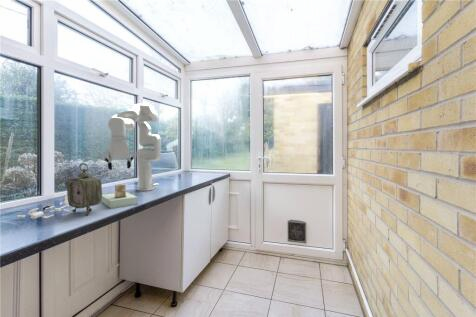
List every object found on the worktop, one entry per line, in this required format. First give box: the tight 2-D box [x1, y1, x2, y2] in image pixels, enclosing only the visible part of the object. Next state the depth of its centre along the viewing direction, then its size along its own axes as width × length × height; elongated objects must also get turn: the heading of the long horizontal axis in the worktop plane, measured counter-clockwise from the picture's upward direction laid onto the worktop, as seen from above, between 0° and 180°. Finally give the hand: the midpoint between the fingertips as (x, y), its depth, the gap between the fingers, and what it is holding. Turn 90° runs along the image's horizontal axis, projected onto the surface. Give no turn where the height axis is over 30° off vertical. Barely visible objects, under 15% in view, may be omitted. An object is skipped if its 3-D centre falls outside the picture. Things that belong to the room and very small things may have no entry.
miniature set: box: [16, 195, 78, 220], centre depth 119 cm, size 6×35×12 cm
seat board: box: [100, 191, 138, 209], centre depth 134 cm, size 14×20×4 cm
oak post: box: [114, 183, 127, 199], centre depth 132 cm, size 4×4×11 cm
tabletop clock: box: [66, 162, 103, 216], centre depth 114 cm, size 14×9×25 cm, turn 64°
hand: (119, 169), depth 131 cm, fingers open, 9 cm apart
